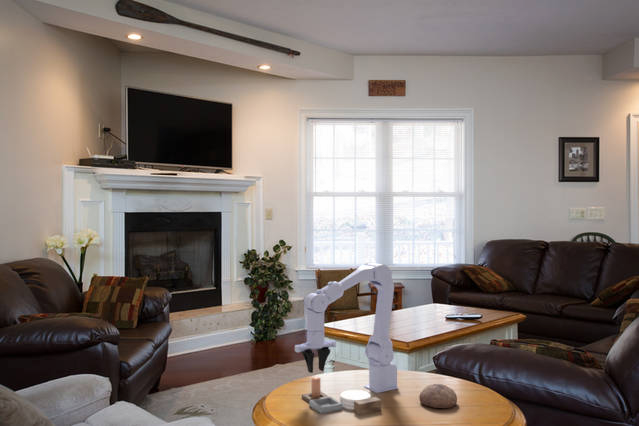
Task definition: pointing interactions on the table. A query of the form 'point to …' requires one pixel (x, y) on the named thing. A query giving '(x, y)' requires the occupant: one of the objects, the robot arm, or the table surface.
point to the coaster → (352, 398)
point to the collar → (308, 398)
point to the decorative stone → (438, 396)
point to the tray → (325, 405)
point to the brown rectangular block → (367, 406)
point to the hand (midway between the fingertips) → (315, 371)
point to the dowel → (315, 387)
